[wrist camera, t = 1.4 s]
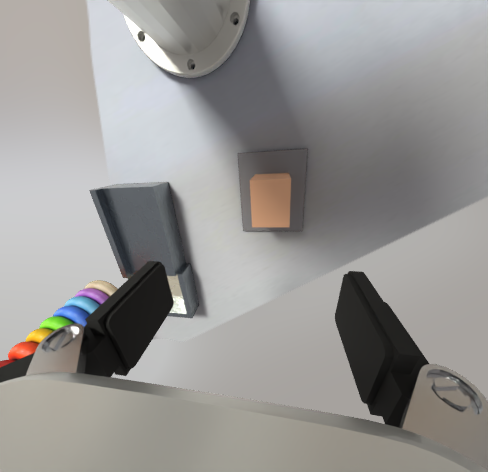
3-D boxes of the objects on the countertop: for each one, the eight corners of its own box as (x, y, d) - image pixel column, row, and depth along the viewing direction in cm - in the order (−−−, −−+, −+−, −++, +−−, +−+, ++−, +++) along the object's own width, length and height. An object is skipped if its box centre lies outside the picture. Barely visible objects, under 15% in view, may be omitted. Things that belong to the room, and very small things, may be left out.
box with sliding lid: (112, 184, 28) (83, 190, 24) (173, 181, 26) (154, 187, 22) (151, 301, 36) (135, 320, 32) (198, 305, 35) (188, 325, 31)
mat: (238, 153, 23) (237, 153, 23) (307, 148, 22) (307, 148, 21) (243, 229, 27) (243, 230, 27) (301, 229, 26) (302, 231, 25)
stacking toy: (128, 288, 36) (-3, 411, 19) (124, 315, 40) (11, 439, 23) (89, 272, 36) (-77, 380, 19) (89, 300, 39) (-52, 413, 23)
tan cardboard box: (255, 174, 24) (249, 180, 19) (288, 172, 23) (291, 178, 18) (256, 213, 26) (252, 227, 21) (287, 213, 25) (289, 227, 20)
